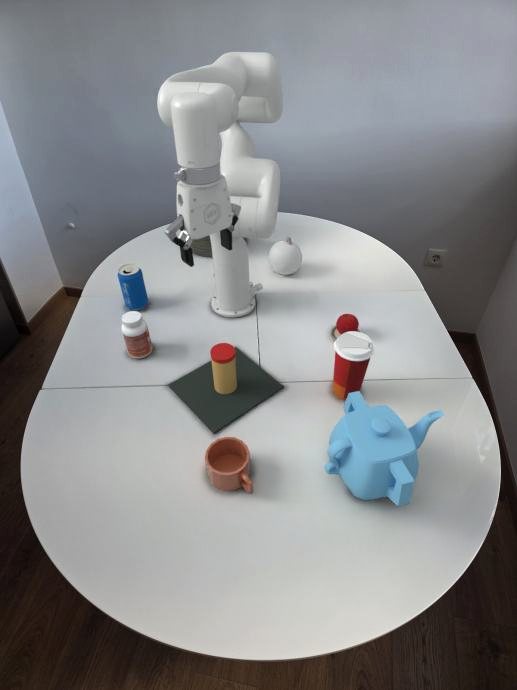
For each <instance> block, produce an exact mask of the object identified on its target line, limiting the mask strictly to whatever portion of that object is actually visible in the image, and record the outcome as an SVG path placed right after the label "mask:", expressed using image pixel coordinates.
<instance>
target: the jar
mask: <svg viewBox="0 0 517 690" xmlns="http://www.w3.org/2000/svg"><path fill="white" fill-rule="evenodd" d="M234 347H235V346H234V345H233V344H231V343H228V342H220V343H219V342H218V343H216V344H214V345H213V346H212V347H211V348H210V351H209V352H210V353H209V355H210V359H211V360H212V369H213V378H214V387H215V390H216V391H217V392H218V393H220V394H230V393H232V392H234V391H235V390H236V388H237V378H236V361H235V356H236V353H235V348H234ZM211 360H210V361H211Z"/></svg>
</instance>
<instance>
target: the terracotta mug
mask: <svg viewBox="0 0 517 690" xmlns="http://www.w3.org/2000/svg"><path fill="white" fill-rule="evenodd" d="M204 462H205V468H206V473H207V478H208V481H209V483H210V484H211V485H212V486H213V487H215V488H216V489H218V490H221V491H225V492H229V491H230V492H231V491H236V490H237V489H239V488H241V487H242V488H243V489H244V490H245V492H246V493H247V494H248V495H253V493H254V481H253V480H252V479H251V478H250V474H251V453H250V450H249V448H248V445H247V444H246V443H245V442H244V441H243V440H242V439H239V438H237V437H235V436H224V437H219V438H217V439H216V440H214V441H213V442H211V443H210V444H209V445H208V447H207V448H206V450H205V455H204Z"/></svg>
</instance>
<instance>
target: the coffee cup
mask: <svg viewBox="0 0 517 690" xmlns="http://www.w3.org/2000/svg"><path fill="white" fill-rule="evenodd" d="M360 332H361V331H360ZM360 332H356V331H349V332H346V333H343V334H342V335H340V336H339V337H338V338H337V339H336V340H334V342H333V349H334V350H335V351H334V364H333V376H332V377H333V378H332V393H333V395H334V396H335V397H336V398H337V399H339V400H340V401H346V399H347V396H348V394H349V393H352V392H357V391H360V392H361V389H362V387H363V383H364V380H365V377H366V375H367V371H368V367H369V364H370V360H371V358H372V356H373V355H374V353H375V346H374V343H373V340H372V338H370V337H369V336H368V335H367V334H365V333H363V332H361V333H360Z"/></svg>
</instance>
